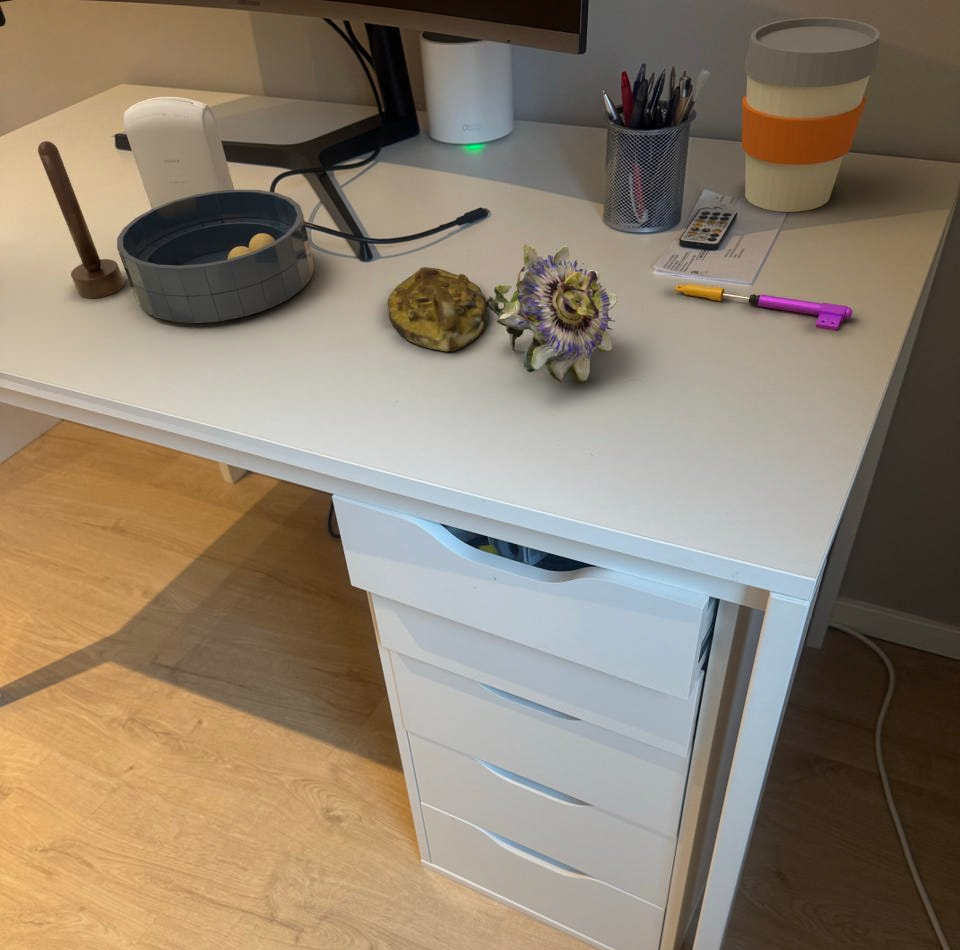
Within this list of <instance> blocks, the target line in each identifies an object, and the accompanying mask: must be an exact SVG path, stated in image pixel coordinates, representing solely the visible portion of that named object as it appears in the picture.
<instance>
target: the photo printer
mask: <svg viewBox="0 0 960 950" xmlns="http://www.w3.org/2000/svg"><path fill="white" fill-rule="evenodd" d="M216 121H217V120H216V117H215V114H214V113H213V110H212V109H211V107H210V106H209V104H207V103H204V102H201V101H198V100H195V99H191V98H186V97H180V96H158V97H152V98H148V99H143V100H142V101H139V102H136V103H134V104H133V105H131V106H130V107H128V108H127V109H126V110H125V111H124V113H123V124H124V126H123V127H124V130H125V135H126V137H127V140H128V143H129V147H130V149H131V152H132V156H133V158H134V161H135V164H136V166H137V167H136V168H137V170H138V172H139V176H140V179H141V182H142V185H143V187H144V191H145V194H146V196H147V200H148V202H149V205H150V208H151V209H153V208H156V207H158V206H161V205H163V204H166V203H168V202H171V201H174V200H178V199H181V198H185V197H189V196H192V195H197V194H203V193H208V192H214V191H224V190H235V187H234V184H233V179H232V175H231V172H230V169H229V168H230V167H229V164H228V161H227V158H226V157H227V156H226V154H225V150H224V146H223V143H222V139H221V135H220V131H219V128H218V124H217V122H216Z"/></svg>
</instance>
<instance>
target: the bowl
mask: <svg viewBox="0 0 960 950" xmlns="http://www.w3.org/2000/svg"><path fill="white" fill-rule="evenodd" d="M261 233H264V234H268V235H270V236H271V237H273V238H274V239H275V241H274V242H273V243H271V244H269V245H267V246H265V247H263V248H260V249H258V250H256V251H254V252H251V253H248V254H245V255H241V256H238V257H235V258H231V259H228V255H229V253H230V251H231V250H232V249H234V248H236V247H239V246H243V247H247V248H249V243H250V241H251V239H252V238H253V237H254V236H255V235H257V234H261ZM116 249H117V252H118V255H119V258H120V260H121V263H122V266H123V268H124V271H125V275H126V276H127V279H128V282H129V284H130V288H131V290H132V293H133V296H134V299H135V301H136V302H137V304H138V306H139V307H140V308H141V309H142V311H144V312H146V313H148V314H149V315H150V316H153V317H155V318H157V319H162V320H165V321H169V322H174V323H189V324H204V323H217V322H223V321H228V320H235V319H239V318H244V317H247V316H250V315H254V314H258V313H260V312H263V311H267V310H269V309H271V308H274V307H276V306H278V305H279V304H282V303H283V302H286V301H288V300H289V299H290V298H292V297H294V296H295V295H296V294H298V293H299V292H300V291H302V290H303V289H304V288H305V286H306V285H307V284H308V283H309V282H310V280H311V279H312V277H313V273H314V270H315V265H314V260H313V255H312V250H311V245H310V241H309V235H308V231H307V226H306V221H305V215H304V213H303V210H302V206H301V205H300V204H299V203H298V202H296V201H295V200H294V199H293V198H291V197H289V196H287V195H284V194H281V193H278V192H274V191H268V190H261V189H242V188H241V189H240V188H239V189H238V188H237V189H234V190H224V191H214V192H208V193H203V194H197V195H192V196H189V197H185V198H181V199H178V200H174V201H171V202H168V203H166V204H163V205H161V206H158V207H156V208H153V209H152V208H151V209H149V210H147V211H146V212H144V213H142V214H140V215H138V216H136V217H135V218H134V219H133V220H131V221H130V222H129V223H128V224H126V225H125V226H124V227H123V228H122V230H121V231H120V233H119V235H118V236H117V238H116Z"/></svg>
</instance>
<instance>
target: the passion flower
mask: <svg viewBox="0 0 960 950" xmlns="http://www.w3.org/2000/svg"><path fill="white" fill-rule="evenodd" d="M577 261H578V260H577V259H576V260H574V262H573V263H572V261H570V247H569V246H567V245H563V246H561V248H559V250H558V251H557V252H556V253H555V255H554V256H553V255H551V254H549V255H547V258H546V259H544V257H543V256H542V255H539V254H538V252H537V251H536V248H535V247H534V246H532V245H527V244H524V245H523V265H524V266H522V267H521V269H520V270H519V272H518V273H517V280H516V282H517V283H516V284H515V288H516V290H515V291H514V292H513V295H512V297H511V299H510V300H508V299H507V298H505V297H504V296H505V294H507V293H509V292H510V290H511V289H512V287H513V286H512V285H511V284H497V285H496V286H495V287H494V289H493V291H494V294H495V298H494V297H493V296H491V295H490V296H488V298H489V299H487V300H486V305H487V308H489V309H490V311H492V312H493V313H494V314H495V315H496V316H497V318H496V323H497V324H498V325H501V326H503V327H505V331H506V332H507V333H508V335H509V341H510V345H511V349H512V351H514V350H515V348H516V339H517V338H520V337H522V335H523V334H524V331H525V330H528V331H531V332H532V334H533V336H532V340H531V344H530V345H529V347H527V349H526V351H525V352H524V355H523V358H522V365H523V368H524V369H525V370H526V372H527V373H534V372H537V371H538V370H540V369H541V368H542V367H543V366H544V365H545V366H546V369H547V371H548V373H549V375H550V376H551V377H552V378H553V379H554V380H555V381H556V382H557V383H559V384H561V383H562V382H563V379H564V378H565V374H566V373H567V374H569V375H571V377H572V378H574V380H576V381H578V382H580V383H584V382H586V381H587V380H588V377H589V376H590V374H591V373H590V372H591V367H590V366H591V359H590V358H591V356H593V355H592V354H593V353H594V351H596V350H597V351H599V352H601V353H610V352H611V351H612V348H613V346H612V342H611V341H612V340H611V337H610V336H609V335H608V333H607V331H606V330H610V331H611V330H613V328H612V327H609V322H616V320H612V317H610V316H609V311H611V310H612V309H613V308H615V306H616V304H617V302H618V296H617V294H615V293H612V292H607V291H606V288H607V287H604V286H603V285H602V284H601V283H600V282H599V281H600V272H599V270H596V269H588V270H587V268H584V269H583V268H579V269H577V267H578V262H577ZM582 265H585V263H584V262H582ZM521 273H523V278H522V279H521ZM500 303H502V304H503V307H502V308H499V304H500Z"/></svg>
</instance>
